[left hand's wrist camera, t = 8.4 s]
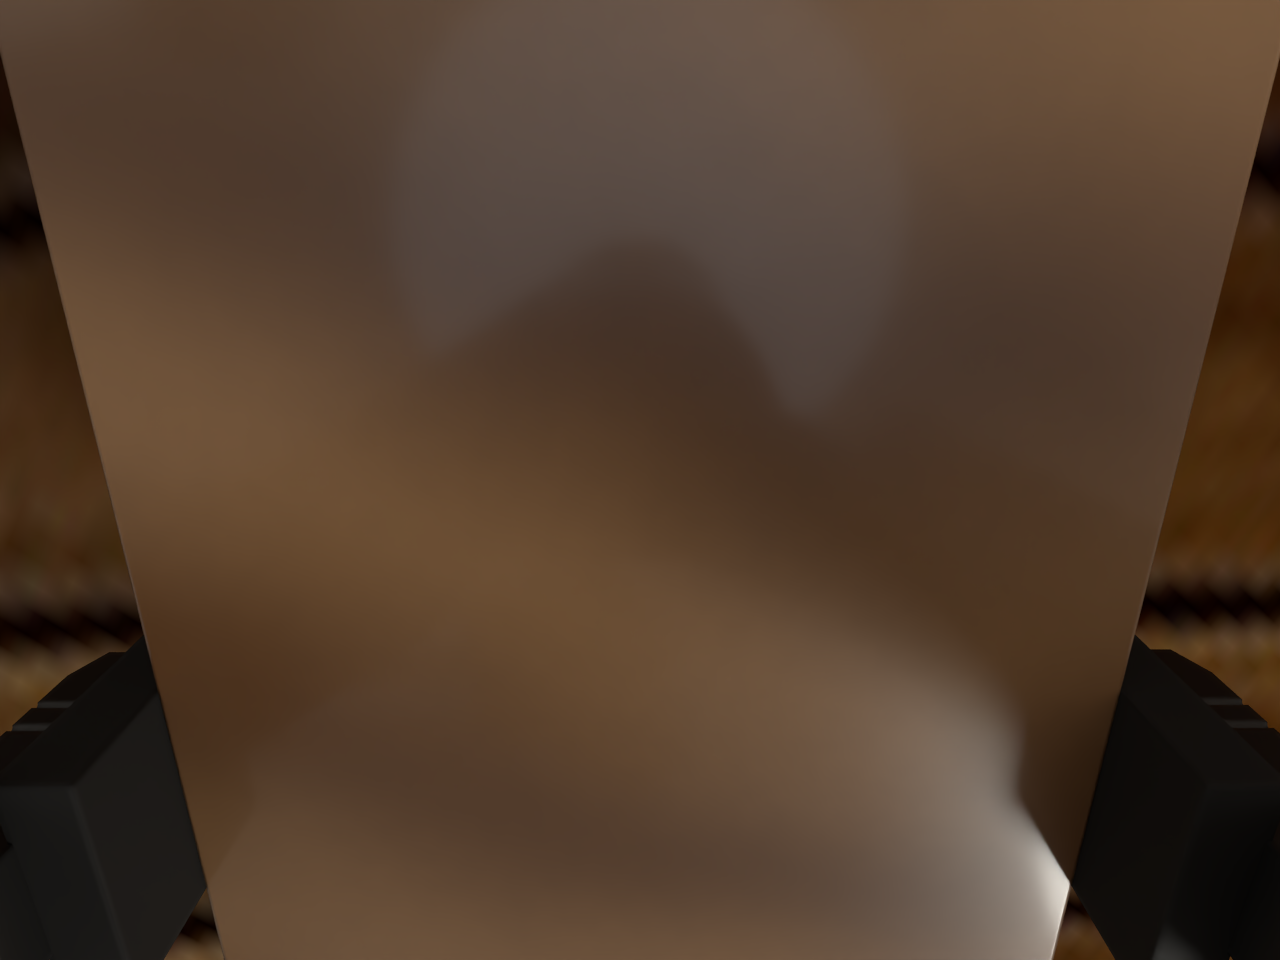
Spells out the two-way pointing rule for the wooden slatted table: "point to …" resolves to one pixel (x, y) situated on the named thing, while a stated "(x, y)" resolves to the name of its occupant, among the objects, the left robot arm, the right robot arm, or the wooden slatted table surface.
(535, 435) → the cabinet
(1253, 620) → the wooden slatted table surface
